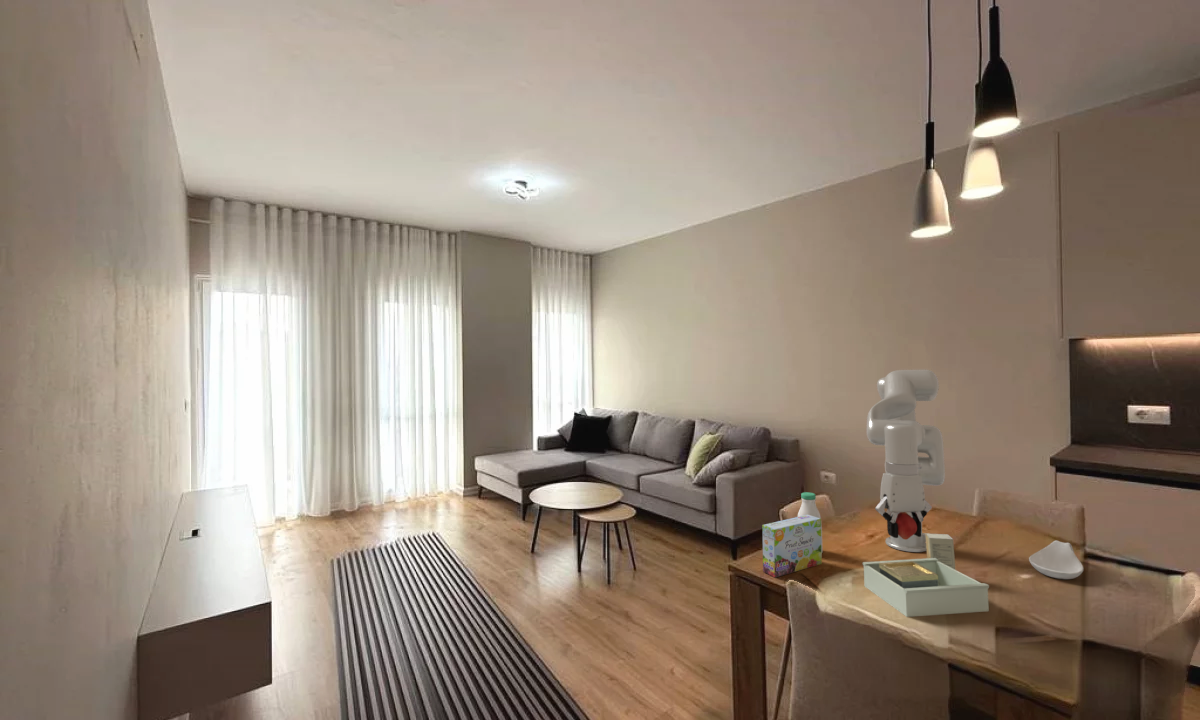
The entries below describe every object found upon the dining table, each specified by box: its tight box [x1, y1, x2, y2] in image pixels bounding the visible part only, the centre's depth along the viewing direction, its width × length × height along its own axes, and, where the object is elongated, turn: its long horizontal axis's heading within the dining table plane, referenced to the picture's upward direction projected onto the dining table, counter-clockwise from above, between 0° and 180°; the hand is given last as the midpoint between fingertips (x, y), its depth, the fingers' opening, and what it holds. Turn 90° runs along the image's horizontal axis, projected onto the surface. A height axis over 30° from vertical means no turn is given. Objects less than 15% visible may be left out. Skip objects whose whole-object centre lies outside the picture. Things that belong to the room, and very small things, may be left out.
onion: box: [895, 512, 917, 540], centre depth 130 cm, size 6×6×8 cm
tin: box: [879, 561, 938, 589], centre depth 129 cm, size 10×9×8 cm
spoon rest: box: [1028, 540, 1084, 580], centre depth 146 cm, size 24×12×7 cm, turn 130°
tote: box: [862, 557, 990, 618], centre depth 130 cm, size 22×18×7 cm
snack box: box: [761, 515, 823, 578], centre depth 153 cm, size 21×6×15 cm, turn 117°
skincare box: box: [924, 532, 956, 570], centre depth 144 cm, size 6×4×12 cm
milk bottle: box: [797, 491, 824, 553], centre depth 166 cm, size 8×8×20 cm
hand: (904, 535), depth 130 cm, fingers closed on onion, 5 cm apart
